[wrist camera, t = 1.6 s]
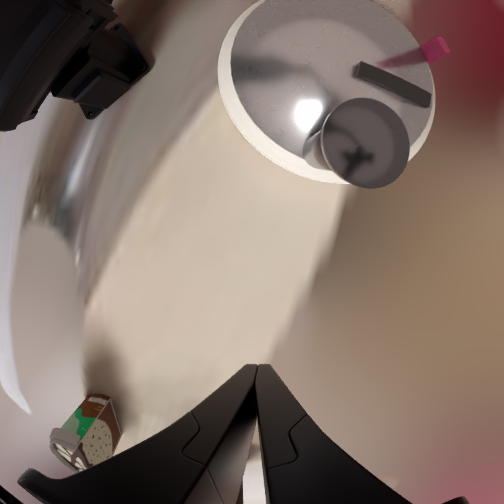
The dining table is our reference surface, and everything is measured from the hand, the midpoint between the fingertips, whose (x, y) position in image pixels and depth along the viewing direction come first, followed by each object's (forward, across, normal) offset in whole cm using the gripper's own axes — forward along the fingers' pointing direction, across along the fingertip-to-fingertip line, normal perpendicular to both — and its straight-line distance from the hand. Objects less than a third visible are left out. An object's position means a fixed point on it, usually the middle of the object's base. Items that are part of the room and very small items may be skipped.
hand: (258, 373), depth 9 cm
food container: (+12, -24, -22) cm, 34 cm away
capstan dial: (+10, +5, +13) cm, 17 cm away
